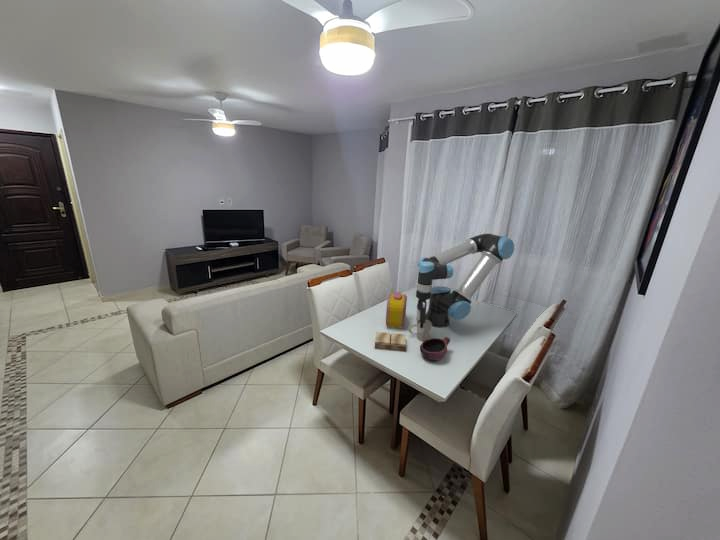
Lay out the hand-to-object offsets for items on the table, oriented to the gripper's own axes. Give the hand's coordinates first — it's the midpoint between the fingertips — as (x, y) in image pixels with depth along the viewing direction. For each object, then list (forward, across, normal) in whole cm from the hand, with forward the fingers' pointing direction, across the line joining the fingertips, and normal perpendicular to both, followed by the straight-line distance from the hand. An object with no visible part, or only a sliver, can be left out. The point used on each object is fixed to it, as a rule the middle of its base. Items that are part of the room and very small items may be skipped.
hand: (419, 326), depth 149 cm
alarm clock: (+8, -15, -12) cm, 21 cm away
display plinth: (+8, +9, -16) cm, 19 cm away
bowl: (+8, +15, +6) cm, 18 cm away
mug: (+8, 0, 0) cm, 8 cm away
